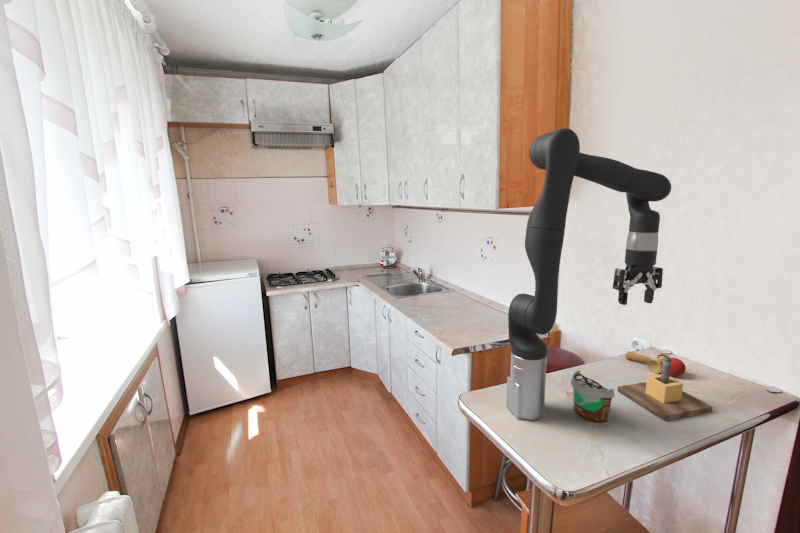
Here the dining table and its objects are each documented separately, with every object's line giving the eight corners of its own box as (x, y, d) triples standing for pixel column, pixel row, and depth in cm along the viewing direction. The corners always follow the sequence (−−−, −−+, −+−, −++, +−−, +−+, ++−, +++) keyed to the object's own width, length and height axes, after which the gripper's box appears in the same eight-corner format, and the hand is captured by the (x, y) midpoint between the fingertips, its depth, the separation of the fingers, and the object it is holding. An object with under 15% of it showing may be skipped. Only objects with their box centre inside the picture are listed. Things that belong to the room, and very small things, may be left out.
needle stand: (664, 421, 101) (669, 373, 98) (617, 391, 116) (621, 349, 114) (712, 411, 104) (718, 365, 102) (660, 383, 120) (665, 343, 117)
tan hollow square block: (663, 403, 106) (665, 386, 105) (645, 392, 112) (647, 376, 111) (680, 400, 108) (683, 383, 107) (661, 389, 114) (663, 374, 113)
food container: (559, 405, 109) (561, 373, 107) (576, 401, 111) (578, 369, 109) (593, 430, 98) (596, 394, 96) (611, 425, 100) (615, 389, 98)
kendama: (620, 365, 136) (677, 379, 120) (621, 347, 136) (678, 359, 120) (633, 364, 139) (689, 377, 124) (634, 347, 139) (690, 358, 124)
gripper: (630, 250, 102) (624, 308, 105) (674, 248, 105) (667, 305, 108) (609, 247, 110) (604, 301, 113) (651, 245, 113) (645, 298, 116)
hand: (635, 303), depth 110 cm, fingers open, 8 cm apart
